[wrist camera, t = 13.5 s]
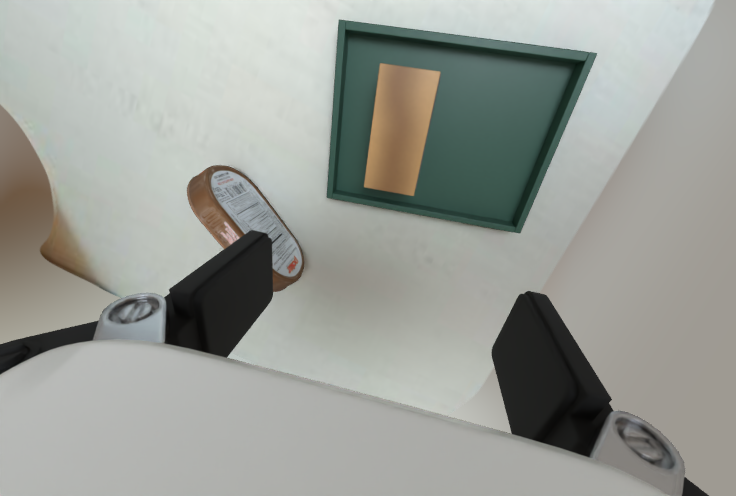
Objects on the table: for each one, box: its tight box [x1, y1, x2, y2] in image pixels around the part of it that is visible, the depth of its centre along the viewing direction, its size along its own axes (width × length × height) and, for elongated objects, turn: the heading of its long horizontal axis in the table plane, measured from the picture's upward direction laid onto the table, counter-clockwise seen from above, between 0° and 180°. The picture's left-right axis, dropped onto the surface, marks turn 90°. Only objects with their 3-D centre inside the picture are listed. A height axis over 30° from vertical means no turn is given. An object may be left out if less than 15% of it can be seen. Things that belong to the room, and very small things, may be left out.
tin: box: [187, 165, 304, 292], centre depth 31 cm, size 15×3×8 cm, turn 33°
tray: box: [327, 20, 597, 233], centre depth 27 cm, size 20×15×2 cm
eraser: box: [364, 63, 441, 196], centre depth 25 cm, size 5×10×5 cm, turn 173°
